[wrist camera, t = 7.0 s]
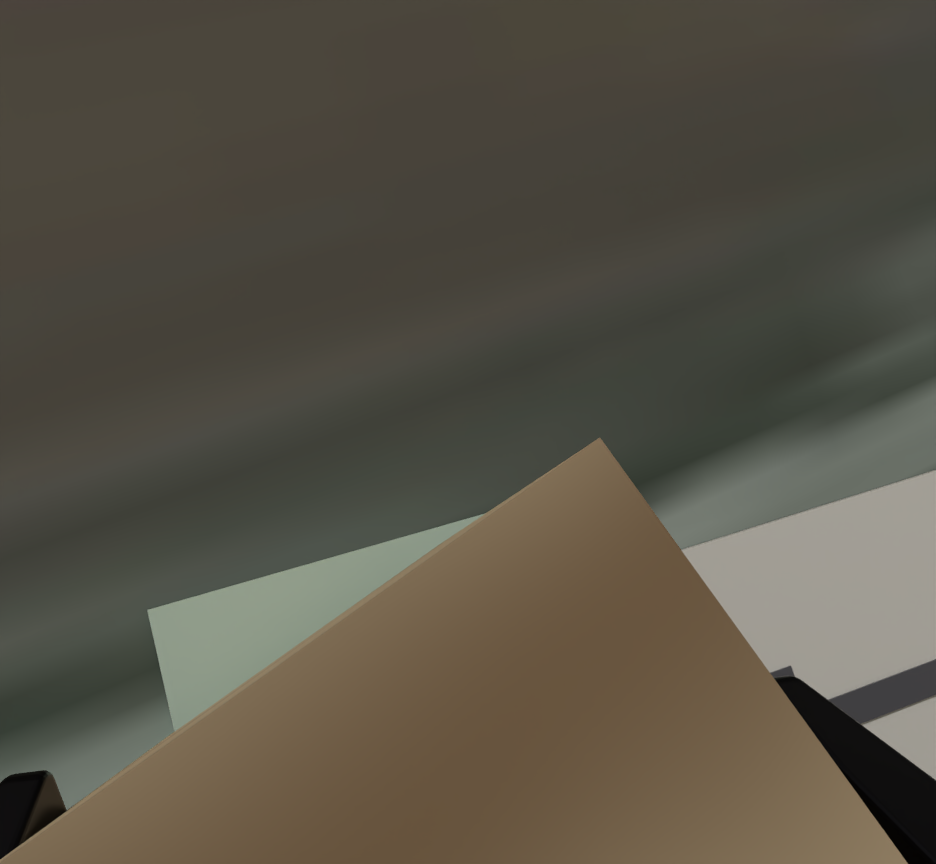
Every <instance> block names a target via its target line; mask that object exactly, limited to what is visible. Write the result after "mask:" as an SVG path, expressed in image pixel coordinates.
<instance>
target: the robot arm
mask: <svg viewBox="0 0 936 864" xmlns="http://www.w3.org/2000/svg"><path fill="white" fill-rule="evenodd" d="M773 678H774V679H775V681H776V682H777V683H778V685H779V686H780V687H781V689H782V690H783V692H784V693H785V694H786V696H787V697H788V699H789V700H790V701H791V703H792V704H793V705H794V707H795V708H796V710H797V711H798V712H799V714H800V715H801V716H802V718H803V719H804V721H805V722H806V723H807V725H808V726H809V728H810V729H811V730H812V732H813V733H814V734H815V736H816V737H817V739H818V740H819V741H820V743H821V744H822V746H823V747H824V748H825V750H826V751H827V752H828V754H829V755H830V757H831V758H832V759H833V761H834V762H835V764H836V765H837V766H838V768H839V769H840V770H841V772H842V773H843V775H844V776H845V777H846V779H847V780H848V781H849V783H850V784H851V786H852V787H853V788H854V790H855V791H856V793H857V794H858V795H859V797H860V798H861V799H862V801H863V802H864V804H865V805H866V806H867V808H868V809H869V811H870V812H871V813H872V815H873V816H874V817H875V819H876V820H877V822H878V823H879V824H880V826H881V827H882V829H883V830H884V831H885V833H886V834H887V835H888V837H889V838H890V840H891V841H892V842H893V844H894V845H895V846H896V848H897V849H898V851H899V852H900V853H901V855H902V856H903V858H904V859H905V860H906V862H907V863H908V864H936V780H935V779H934V778H932V777H931V776H930V775H928V774H927V773H926V772H924V771H923V770H922V769H920V768H919V767H918V766H916V765H915V764H914V763H912V762H911V761H910V760H908V759H907V758H906V757H904V756H903V755H901V754H900V753H899V752H897V751H896V750H895V749H893V748H892V747H891V746H889V745H888V744H887V743H885V742H884V741H883V740H881V739H880V738H879V737H877V736H876V735H875V734H873V733H872V732H871V731H869V730H868V729H867V728H865V727H864V726H863V725H861V724H860V723H859V722H857V721H856V720H855V719H853V718H852V717H851V716H849V715H848V714H847V713H845V712H844V711H843V710H841V709H840V708H838V707H837V706H836V705H834V704H833V703H832V702H830V701H829V700H828V699H826V698H825V697H824V696H822V695H821V694H820V693H818V692H817V691H816V690H814V689H813V688H812V687H810V686H809V685H808V684H806V683H805V682H804V681H802V680H801V679H799V678H797V677H794V676H781V677H773ZM66 811H67V810H66V808H65V805H64V802H63V800H62V797H61V795H60V792H59V789H58V787H57V784H56V782H55V779H54V777H53V775H52V774H51V773H50V772H48V771H44V770H43V771H35V772H27V773H19V774H13V775H10V776H8V777H7V778H5V779H4V780H3V781H2V782H1V783H0V859H2V858H3V857H4V856H6V855H7V854H9V853H10V852H11V851H13V850H14V849H15V848H17V847H18V846H20V845H21V844H22V843H24V842H25V841H26V840H28V839H29V838H30V837H32V836H33V835H35V834H36V833H37V832H39V831H40V830H41V829H43V828H44V827H45V826H47V825H48V824H50V823H51V822H52V821H54V820H55V819H56V818H58V817H59V816H60V815H62V814H63V813H65V812H66Z"/></svg>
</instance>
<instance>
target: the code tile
mask: <svg viewBox="0 0 936 864" xmlns="http://www.w3.org/2000/svg"><path fill="white" fill-rule="evenodd" d="M681 551H682V552H683V553H684V555H685V556H686V557H687V559H688V560H689V562H690V563H691V564H692V566H693V567H694V569H695V570H696V571H697V573H698V574H699V575H700V577H701V578H702V580H703V581H704V582H705V584H706V585H707V586H708V588H709V589H710V591H711V592H712V593H713V595H714V596H715V598H716V599H717V600H718V602H719V603H720V604H721V606H722V607H723V609H724V610H725V611H726V613H727V614H728V616H729V617H730V618H731V620H732V621H733V622H734V624H735V625H736V627H737V628H738V629H739V631H740V632H741V634H742V635H743V636H744V638H745V639H746V640H747V642H748V643H749V645H750V646H751V647H752V649H753V650H754V651H755V653H756V654H757V656H758V657H759V658H760V660H761V661H762V663H763V664H764V665H765V667H766V668H767V669H768V671H769V672H770V674H771V675H772V676H773V677H781V676H794V677H797V678H799V679H801V680H802V681H804V682H805V683H806V684H808V685H809V686H810V687H812V688H813V689H814V690H816V691H817V692H818V693H820V694H821V695H822V696H824V697H825V698H826V699H828V700H829V701H830V702H832V703H833V704H834V705H836V706H837V707H838V708H840V709H841V710H843V711H844V712H845V713H847V714H848V715H849V716H851V717H852V718H853V719H855V720H856V721H857V722H859V723H860V724H861V725H863V726H864V727H865V728H867V729H868V730H869V731H871V732H872V733H873V734H875V735H876V736H877V737H879V738H880V739H881V740H883V741H884V742H885V743H887V744H888V745H889V746H891V747H892V748H893V749H895V750H896V751H897V752H899V753H900V754H901V755H903V756H904V757H906V758H907V759H908V760H910V761H911V762H912V763H914V764H915V765H916V766H918V767H919V768H920V769H922V770H923V771H924V772H926V773H927V774H928V775H930V776H931V777H932V778H934V779H935V780H936V470H933V471H930V472H927V473H924V474H920V475H917V476H914V477H911V478H908V479H905V480H901V481H898V482H895V483H892V484H889V485H885V486H882V487H879V488H876V489H873V490H869V491H866V492H863V493H860V494H857V495H853V496H850V497H847V498H844V499H841V500H838V501H834V502H831V503H828V504H825V505H822V506H818V507H815V508H812V509H809V510H806V511H802V512H799V513H796V514H793V515H790V516H786V517H783V518H780V519H777V520H774V521H771V522H767V523H764V524H761V525H758V526H755V527H751V528H748V529H745V530H742V531H739V532H735V533H732V534H729V535H726V536H723V537H720V538H716V539H713V540H710V541H707V542H704V543H700V544H697V545H694V546H691V547H688V548H684V549H681Z"/></svg>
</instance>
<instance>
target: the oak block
mask: <svg viewBox="0 0 936 864" xmlns="http://www.w3.org/2000/svg"><path fill="white" fill-rule="evenodd" d="M0 864H908V863H907V862H906V860H905V859H904V858H903V856H902V855H901V853H900V852H899V851H898V849H897V848H896V846H895V845H894V844H893V842H892V841H891V840H890V838H889V837H888V835H887V834H886V833H885V831H884V830H883V829H882V827H881V826H880V824H879V823H878V822H877V820H876V819H875V817H874V816H873V815H872V813H871V812H870V811H869V809H868V808H867V806H866V805H865V804H864V802H863V801H862V799H861V798H860V797H859V795H858V794H857V793H856V791H855V790H854V788H853V787H852V786H851V784H850V783H849V781H848V780H847V779H846V777H845V776H844V775H843V773H842V772H841V770H840V769H839V768H838V766H837V765H836V764H835V762H834V761H833V759H832V758H831V757H830V755H829V754H828V752H827V751H826V750H825V748H824V747H823V746H822V744H821V743H820V741H819V740H818V739H817V737H816V736H815V734H814V733H813V732H812V730H811V729H810V728H809V726H808V725H807V723H806V722H805V721H804V719H803V718H802V716H801V715H800V714H799V712H798V711H797V710H796V708H795V707H794V705H793V704H792V703H791V701H790V700H789V699H788V697H787V696H786V694H785V693H784V692H783V690H782V689H781V687H780V686H779V685H778V683H777V682H776V681H775V679H774V678H773V676H772V675H771V674H770V672H769V671H768V669H767V668H766V667H765V665H764V664H763V663H762V661H761V660H760V658H759V657H758V656H757V654H756V653H755V651H754V650H753V649H752V647H751V646H750V645H749V643H748V642H747V640H746V639H745V638H744V636H743V635H742V634H741V632H740V631H739V629H738V628H737V627H736V625H735V624H734V622H733V621H732V620H731V618H730V617H729V616H728V614H727V613H726V611H725V610H724V609H723V607H722V606H721V604H720V603H719V602H718V600H717V599H716V598H715V596H714V595H713V593H712V592H711V591H710V589H709V588H708V586H707V585H706V584H705V582H704V581H703V580H702V578H701V577H700V575H699V574H698V573H697V571H696V570H695V569H694V567H693V566H692V564H691V563H690V562H689V560H688V559H687V557H686V556H685V555H684V553H683V552H682V551H681V549H680V548H679V546H678V545H677V544H676V542H675V541H674V539H673V538H672V537H671V535H670V534H669V533H668V531H667V530H666V528H665V527H664V526H663V524H662V523H661V521H660V520H659V519H658V517H657V516H656V515H655V513H654V512H653V510H652V509H651V508H650V506H649V505H648V504H647V502H646V501H645V499H644V498H643V497H642V495H641V494H640V492H639V491H638V490H637V488H636V487H635V486H634V484H633V483H632V481H631V480H630V479H629V477H628V476H627V474H626V473H625V472H624V470H623V469H622V468H621V466H620V465H619V463H618V462H617V461H616V459H615V458H614V456H613V455H612V454H611V452H610V451H609V450H608V448H607V447H606V445H605V444H604V443H603V441H602V440H601V438H599V439H597V440H596V441H594V442H593V443H591V444H590V445H588V446H587V447H585V448H584V449H582V450H581V451H579V452H578V453H576V454H575V455H573V456H572V457H570V458H569V459H567V460H566V461H564V462H562V463H561V464H559V465H558V466H556V467H555V468H553V469H552V470H550V471H549V472H547V473H546V474H544V475H543V476H541V477H540V478H538V479H537V480H535V481H534V482H532V483H531V484H529V485H528V486H526V487H525V488H523V489H522V490H520V491H519V492H517V493H516V494H514V495H513V496H511V497H510V498H508V499H507V500H505V501H504V502H502V503H501V504H499V505H498V506H496V507H495V508H493V509H492V510H490V511H489V512H487V513H486V514H484V515H483V516H481V517H480V518H478V519H477V520H475V521H474V522H472V523H471V524H469V525H468V526H466V527H465V528H463V529H462V530H460V531H459V532H457V533H456V534H454V535H453V536H451V537H450V538H448V539H447V540H445V541H444V542H442V543H441V544H439V545H438V546H437V547H435V548H434V549H432V550H431V551H429V552H428V553H427V554H425V555H424V556H422V557H421V558H420V559H418V560H417V561H415V562H414V563H412V564H411V565H410V566H408V567H407V568H405V569H404V570H403V571H401V572H400V573H398V574H397V575H396V576H394V577H393V578H391V579H390V580H388V581H387V582H386V583H384V584H383V585H381V586H380V587H379V588H377V589H376V590H374V591H373V592H371V593H370V594H369V595H367V596H366V597H364V598H363V599H362V600H360V601H359V602H357V603H356V604H354V605H353V606H352V607H350V608H349V609H347V610H346V611H345V612H343V613H342V614H340V615H339V616H338V617H336V618H335V619H333V620H332V621H330V622H329V623H328V624H326V625H325V626H323V627H322V628H321V629H319V630H318V631H316V632H315V633H313V634H312V635H311V636H309V637H308V638H306V639H305V640H304V641H302V642H301V643H299V644H298V645H296V646H295V647H294V648H292V649H291V650H289V651H288V652H287V653H285V654H284V655H282V656H281V657H279V658H278V659H277V660H275V661H274V662H272V663H271V664H270V665H268V666H267V667H265V668H264V669H263V670H261V671H260V672H258V673H257V674H255V675H254V676H253V677H251V678H250V679H248V680H247V681H246V682H244V683H243V684H241V685H240V686H238V687H237V688H236V689H234V690H233V691H231V692H230V693H229V694H227V695H226V696H224V697H223V698H221V699H220V700H219V701H217V702H216V703H214V704H213V705H212V706H210V707H209V708H207V709H206V710H205V711H203V712H202V713H200V714H199V715H197V716H196V717H195V718H193V719H192V720H190V721H189V722H188V723H186V724H185V725H183V726H182V727H180V728H179V729H178V730H176V731H175V732H173V733H172V734H171V735H169V736H168V737H167V738H165V739H164V740H163V741H161V742H160V743H158V744H157V745H156V746H154V747H153V748H152V749H150V750H149V751H148V752H146V753H145V754H143V755H142V756H141V757H139V758H138V759H137V760H135V761H134V762H133V763H131V764H130V765H128V766H127V767H126V768H124V769H123V770H122V771H120V772H119V773H118V774H116V775H115V776H113V777H112V778H111V779H109V780H108V781H107V782H105V783H104V784H103V785H101V786H100V787H98V788H97V789H96V790H94V791H93V792H92V793H90V794H89V795H88V796H86V797H85V798H83V799H82V800H81V801H79V802H78V803H77V804H75V805H74V806H73V807H71V808H70V809H68V810H67V811H66V812H65V813H63V814H62V815H60V816H59V817H58V818H56V819H55V820H54V821H52V822H51V823H50V824H48V825H47V826H45V827H44V828H43V829H41V830H40V831H39V832H37V833H36V834H35V835H33V836H32V837H30V838H29V839H28V840H26V841H25V842H24V843H22V844H21V845H20V846H18V847H17V848H15V849H14V850H13V851H11V852H10V853H9V854H7V855H6V856H4V857H3V858H2V859H0Z"/></svg>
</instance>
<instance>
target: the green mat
mask: <svg viewBox="0 0 936 864" xmlns="http://www.w3.org/2000/svg"><path fill="white" fill-rule="evenodd" d="M483 515H484V514H482V515H479V516H475V517H472V518H468V519H465V520H461V521H458V522H454V523H451V524H447V525H444V526H440V527H437V528H433V529H430V530H426V531H423V532H419V533H416V534H412V535H409V536H405V537H402V538H398V539H395V540H391V541H388V542H384V543H381V544H377V545H374V546H370V547H367V548H363V549H360V550H356V551H353V552H349V553H346V554H342V555H339V556H335V557H332V558H328V559H325V560H321V561H318V562H314V563H311V564H307V565H304V566H300V567H297V568H293V569H290V570H286V571H283V572H279V573H276V574H272V575H269V576H265V577H262V578H258V579H255V580H251V581H248V582H244V583H241V584H237V585H234V586H230V587H227V588H223V589H220V590H216V591H213V592H209V593H206V594H202V595H199V596H195V597H192V598H188V599H184V600H181V601H177V602H174V603H170V604H167V605H163V606H160V607H156V608H153V609H149V610H147V611H148V615H149V620H150V624H151V629H152V633H153V637H154V642H155V646H156V651H157V655H158V660H159V664H160V669H161V673H162V678H163V682H164V687H165V691H166V696H167V700H168V705H169V709H170V714H171V718H172V723H173V727H174V732H175V731H176V730H178V729H179V728H180V727H182V726H183V725H185V724H186V723H188V722H189V721H190V720H192V719H193V718H195V717H196V716H197V715H199V714H200V713H202V712H203V711H205V710H206V709H207V708H209V707H210V706H212V705H213V704H214V703H216V702H217V701H219V700H220V699H221V698H223V697H224V696H226V695H227V694H229V693H230V692H231V691H233V690H234V689H236V688H237V687H238V686H240V685H241V684H243V683H244V682H246V681H247V680H248V679H250V678H251V677H253V676H254V675H255V674H257V673H258V672H260V671H261V670H263V669H264V668H265V667H267V666H268V665H270V664H271V663H272V662H274V661H275V660H277V659H278V658H279V657H281V656H282V655H284V654H285V653H287V652H288V651H289V650H291V649H292V648H294V647H295V646H296V645H298V644H299V643H301V642H302V641H304V640H305V639H306V638H308V637H309V636H311V635H312V634H313V633H315V632H316V631H318V630H319V629H321V628H322V627H323V626H325V625H326V624H328V623H329V622H330V621H332V620H333V619H335V618H336V617H338V616H339V615H340V614H342V613H343V612H345V611H346V610H347V609H349V608H350V607H352V606H353V605H354V604H356V603H357V602H359V601H360V600H362V599H363V598H364V597H366V596H367V595H369V594H370V593H371V592H373V591H374V590H376V589H377V588H379V587H380V586H381V585H383V584H384V583H386V582H387V581H388V580H390V579H391V578H393V577H394V576H396V575H397V574H398V573H400V572H401V571H403V570H404V569H405V568H407V567H408V566H410V565H411V564H412V563H414V562H415V561H417V560H418V559H420V558H421V557H422V556H424V555H425V554H427V553H428V552H429V551H431V550H432V549H434V548H435V547H437V546H438V545H439V544H441V543H442V542H444V541H445V540H447V539H448V538H450V537H451V536H453V535H454V534H456V533H457V532H459V531H460V530H462V529H463V528H465V527H466V526H468V525H469V524H471V523H472V522H474V521H475V520H477V519H478V518H480V517H481V516H483Z"/></svg>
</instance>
